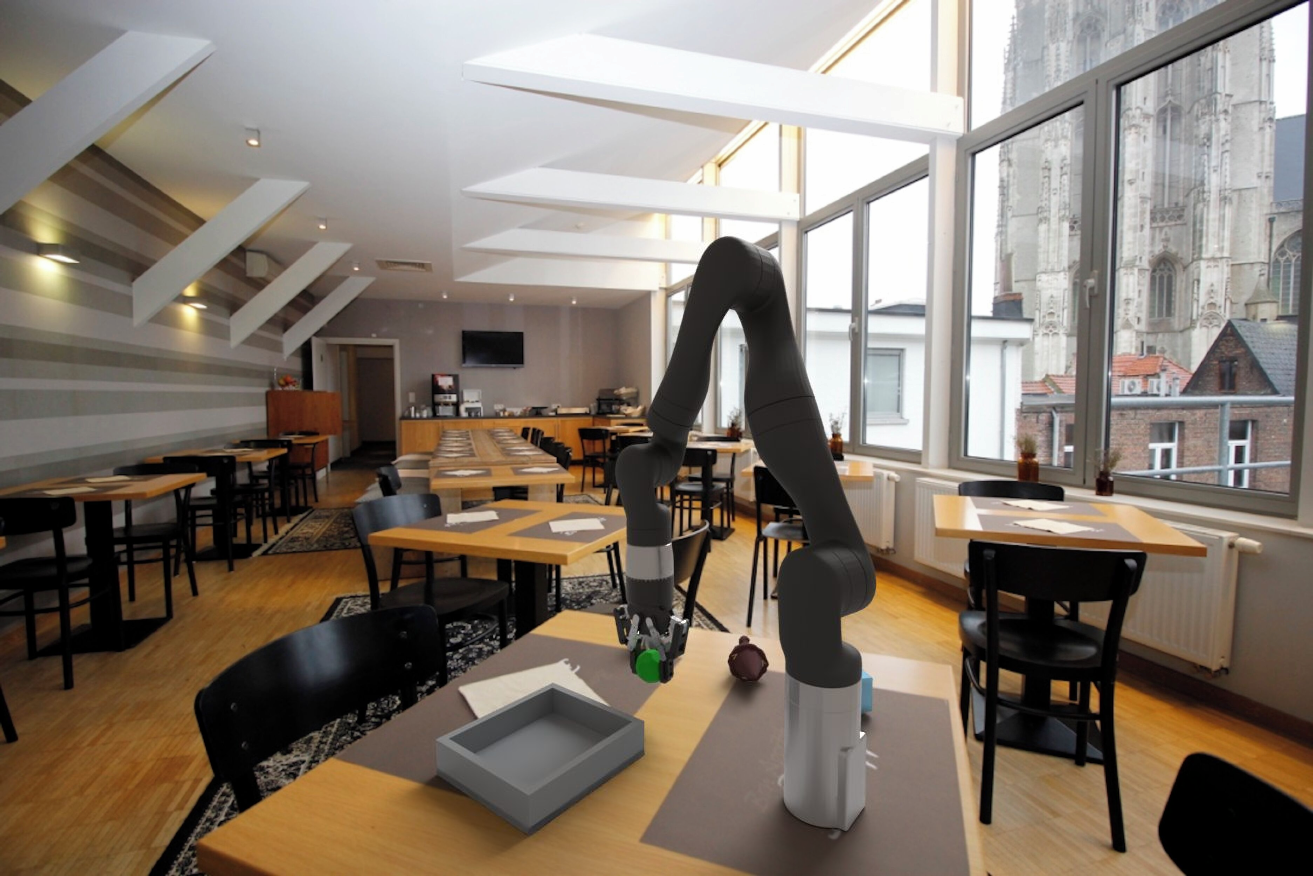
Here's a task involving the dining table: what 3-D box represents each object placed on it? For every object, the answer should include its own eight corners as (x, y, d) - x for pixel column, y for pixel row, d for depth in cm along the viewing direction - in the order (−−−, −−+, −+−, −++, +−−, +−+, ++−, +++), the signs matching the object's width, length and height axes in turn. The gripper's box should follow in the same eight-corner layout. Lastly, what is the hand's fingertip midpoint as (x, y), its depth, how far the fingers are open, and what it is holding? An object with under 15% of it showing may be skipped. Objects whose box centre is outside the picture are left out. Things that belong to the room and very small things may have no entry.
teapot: (808, 689, 110) (808, 648, 110) (840, 686, 111) (841, 645, 111) (841, 725, 98) (842, 678, 98) (876, 721, 100) (878, 675, 99)
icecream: (781, 662, 106) (764, 635, 121) (738, 652, 106) (726, 626, 121) (771, 702, 106) (755, 671, 121) (728, 692, 106) (718, 661, 121)
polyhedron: (631, 677, 101) (630, 648, 101) (659, 671, 103) (658, 643, 103) (643, 690, 96) (642, 659, 96) (672, 684, 98) (672, 654, 98)
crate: (644, 754, 91) (644, 721, 90) (529, 836, 74) (528, 795, 74) (553, 712, 103) (553, 682, 102) (436, 774, 86) (435, 739, 86)
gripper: (701, 572, 97) (702, 680, 98) (630, 559, 106) (632, 658, 107) (672, 584, 91) (673, 698, 92) (599, 569, 100) (601, 674, 101)
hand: (651, 676), depth 100 cm, fingers closed on polyhedron, 5 cm apart
